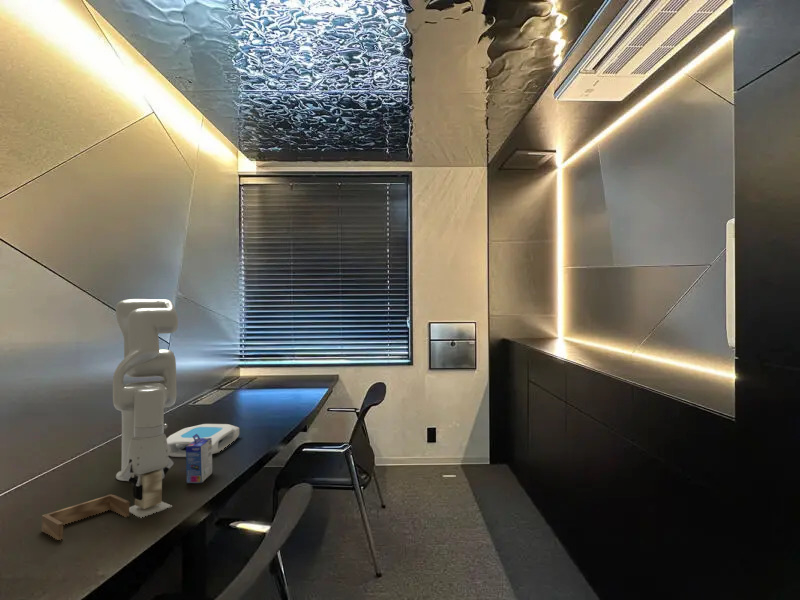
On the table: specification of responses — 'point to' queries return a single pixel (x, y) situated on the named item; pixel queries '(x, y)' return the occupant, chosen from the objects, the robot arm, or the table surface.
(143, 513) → the mat
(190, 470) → the ink cartridge box
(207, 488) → the table surface
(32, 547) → the table surface
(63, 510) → the u-shaped frame
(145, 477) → the block
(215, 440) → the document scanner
